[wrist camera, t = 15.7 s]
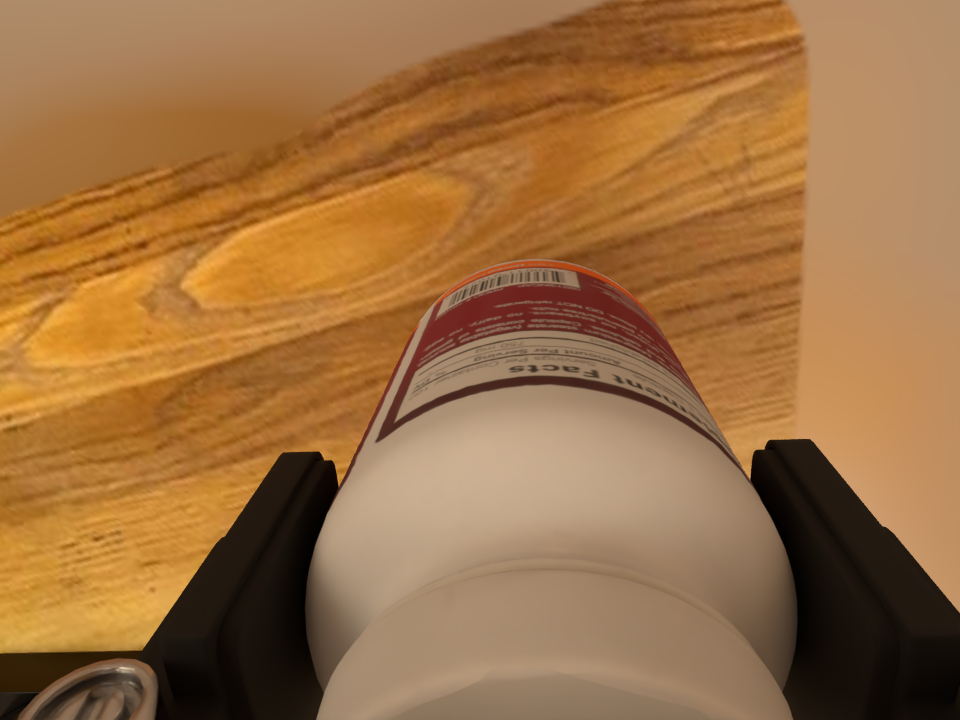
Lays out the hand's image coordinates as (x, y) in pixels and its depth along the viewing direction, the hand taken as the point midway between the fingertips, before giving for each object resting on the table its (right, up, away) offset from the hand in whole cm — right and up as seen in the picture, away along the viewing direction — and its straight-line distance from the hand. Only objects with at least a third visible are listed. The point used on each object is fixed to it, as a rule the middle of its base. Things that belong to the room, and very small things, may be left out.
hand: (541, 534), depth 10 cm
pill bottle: (0, +2, +6) cm, 6 cm away
